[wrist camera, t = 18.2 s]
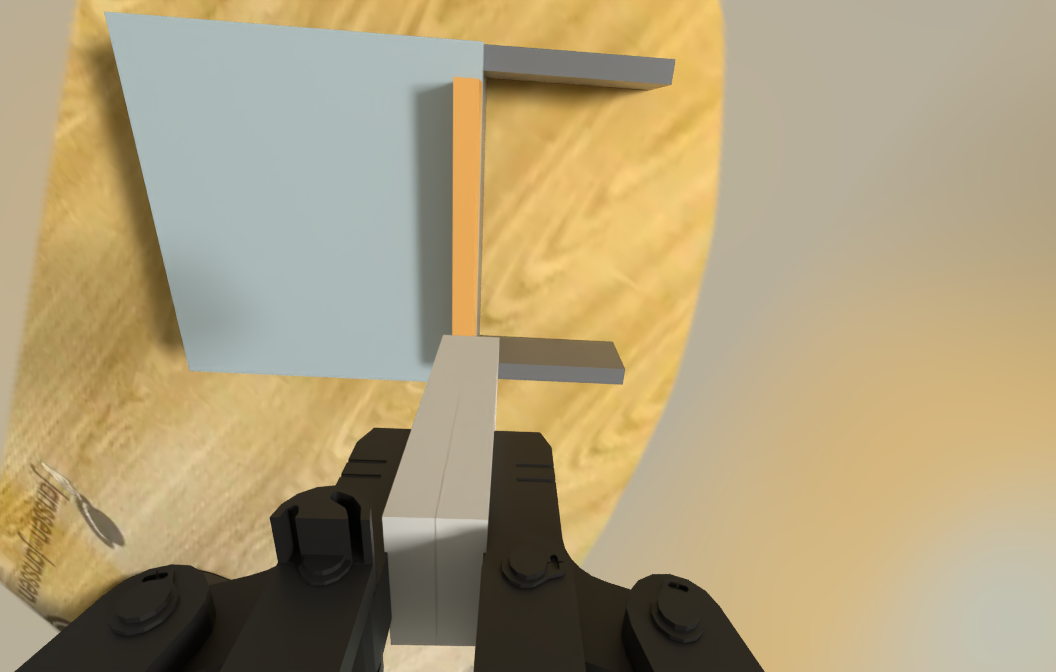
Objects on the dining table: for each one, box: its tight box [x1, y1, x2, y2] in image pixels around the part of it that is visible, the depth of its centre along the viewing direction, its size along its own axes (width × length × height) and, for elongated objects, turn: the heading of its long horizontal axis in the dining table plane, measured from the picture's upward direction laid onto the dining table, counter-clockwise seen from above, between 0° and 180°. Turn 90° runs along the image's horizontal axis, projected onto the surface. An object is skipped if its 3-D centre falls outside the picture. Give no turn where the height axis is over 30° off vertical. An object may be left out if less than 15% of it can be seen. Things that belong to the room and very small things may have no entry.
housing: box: [477, 44, 675, 385], centre depth 31 cm, size 29×20×4 cm
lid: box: [104, 12, 484, 382], centre depth 27 cm, size 18×20×3 cm
